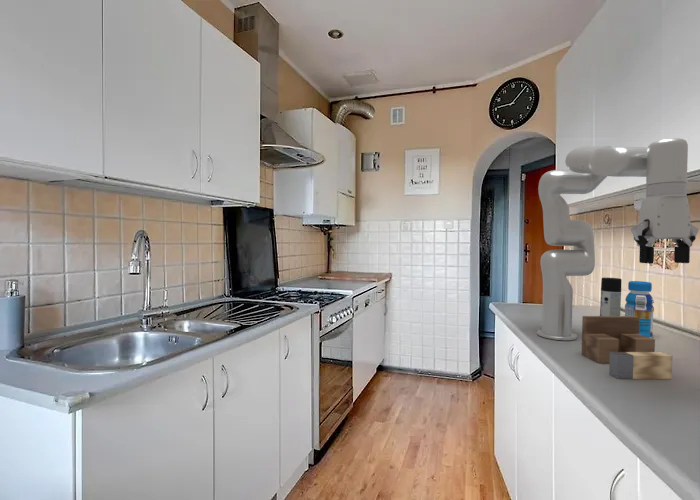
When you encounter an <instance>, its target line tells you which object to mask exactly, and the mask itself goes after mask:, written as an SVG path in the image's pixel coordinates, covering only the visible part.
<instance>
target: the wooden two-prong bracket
mask: <svg viewBox="0 0 700 500" xmlns="http://www.w3.org/2000/svg"><path fill="white" fill-rule="evenodd" d="M581 319H582V321H581V323H582V325H581V355H582V356H584V357H585V358H587V359H589V360H591V361H593V362H595V363H597V364H609V363H610V352H656V346H655V345H656V339H655V338H653V337H652V338H650V337H647V336H644V335H641V334H639V317H636V316H625V315H620V316H600V315H582V317H581Z"/></svg>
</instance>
